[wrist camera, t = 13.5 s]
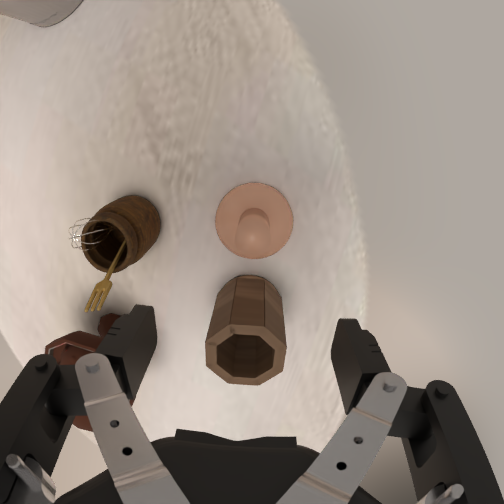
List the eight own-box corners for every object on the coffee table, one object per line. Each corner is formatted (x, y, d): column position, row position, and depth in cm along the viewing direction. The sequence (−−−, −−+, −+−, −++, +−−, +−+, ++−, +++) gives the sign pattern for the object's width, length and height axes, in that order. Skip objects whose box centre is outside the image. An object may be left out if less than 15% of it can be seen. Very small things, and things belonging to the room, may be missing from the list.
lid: (218, 180, 29) (207, 191, 23) (295, 185, 29) (303, 197, 23) (216, 252, 31) (206, 278, 26) (288, 257, 31) (293, 284, 26)
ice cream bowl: (104, 276, 32) (31, 356, 18) (176, 339, 35) (139, 440, 21) (68, 323, 35) (8, 397, 21) (130, 376, 38) (92, 462, 24)
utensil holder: (153, 186, 29) (92, 219, 18) (170, 246, 31) (125, 307, 20) (103, 201, 29) (32, 239, 18) (121, 257, 32) (64, 315, 20)
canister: (219, 272, 32) (204, 321, 23) (283, 277, 32) (289, 327, 23) (218, 325, 34) (206, 381, 26) (276, 329, 34) (280, 386, 26)
